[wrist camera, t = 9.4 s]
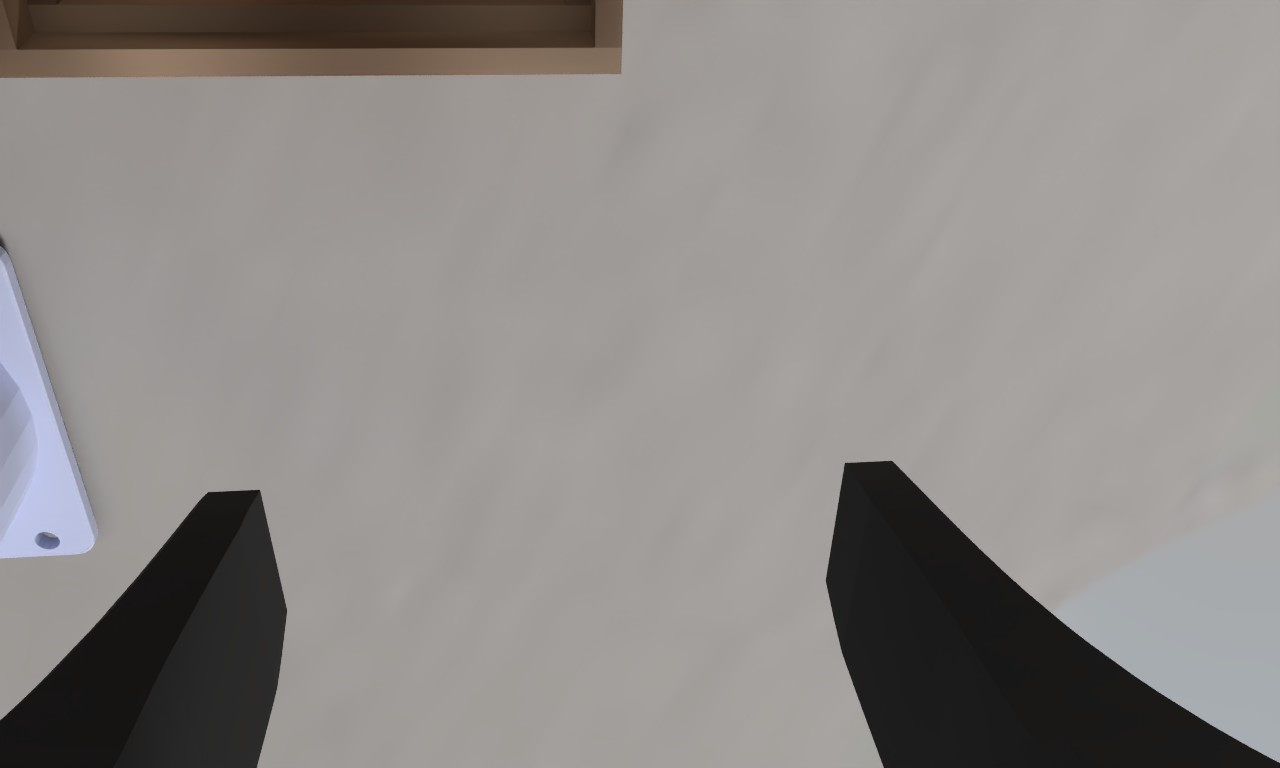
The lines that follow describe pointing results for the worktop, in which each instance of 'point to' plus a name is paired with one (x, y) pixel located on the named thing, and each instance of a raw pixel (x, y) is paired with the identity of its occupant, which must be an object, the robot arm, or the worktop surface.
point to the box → (308, 37)
